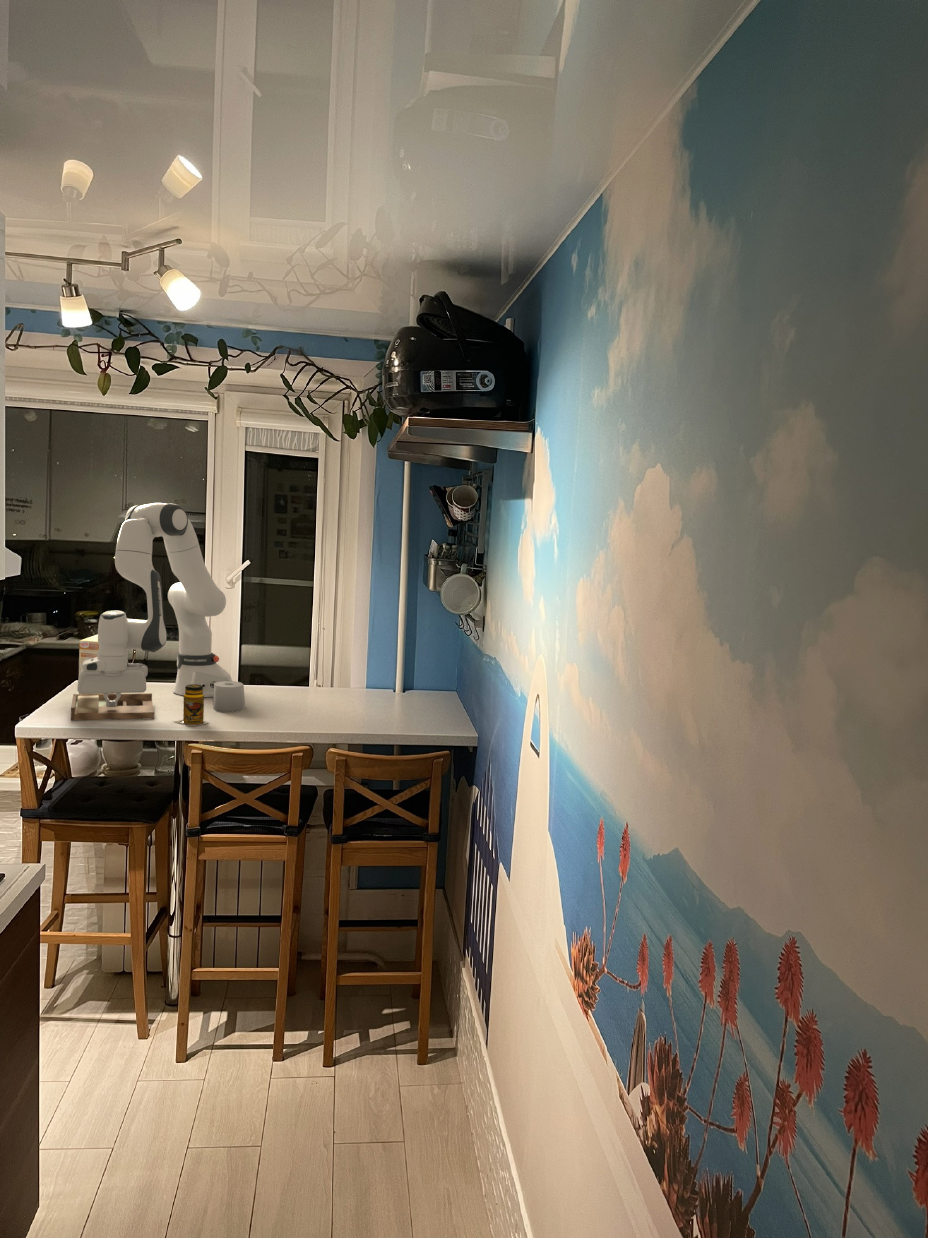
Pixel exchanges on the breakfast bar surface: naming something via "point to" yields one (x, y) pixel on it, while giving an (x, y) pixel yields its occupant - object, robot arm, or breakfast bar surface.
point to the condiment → (193, 706)
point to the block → (88, 704)
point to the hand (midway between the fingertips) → (112, 706)
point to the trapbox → (126, 707)
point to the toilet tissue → (228, 696)
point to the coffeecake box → (88, 651)
